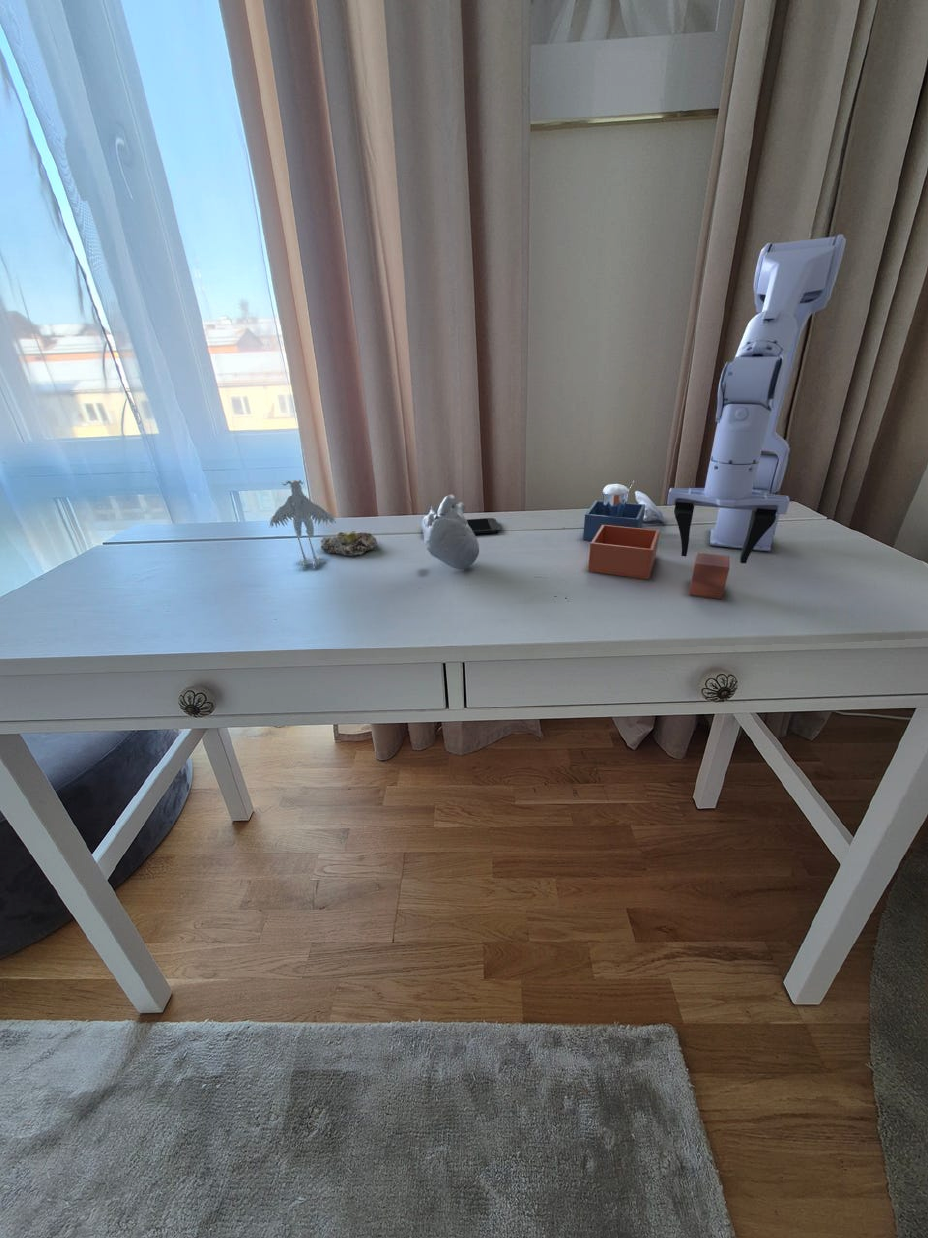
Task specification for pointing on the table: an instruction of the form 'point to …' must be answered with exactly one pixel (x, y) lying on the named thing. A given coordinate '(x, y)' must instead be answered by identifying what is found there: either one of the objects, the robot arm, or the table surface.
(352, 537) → the mineral rock
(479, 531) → the smartphone
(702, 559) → the block
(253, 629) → the table surface
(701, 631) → the table surface
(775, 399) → the robot arm
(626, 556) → the terracotta bin
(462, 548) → the heart
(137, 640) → the table surface
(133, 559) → the table surface
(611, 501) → the milkshake
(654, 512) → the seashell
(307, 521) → the figurine
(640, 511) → the slate bin
